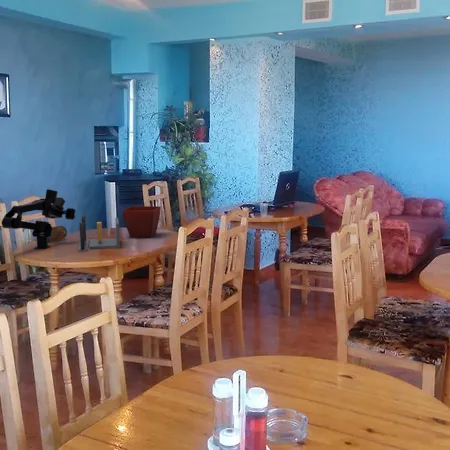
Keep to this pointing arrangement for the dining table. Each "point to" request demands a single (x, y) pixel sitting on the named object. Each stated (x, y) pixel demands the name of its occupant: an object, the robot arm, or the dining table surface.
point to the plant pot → (142, 220)
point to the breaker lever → (99, 231)
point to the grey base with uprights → (107, 240)
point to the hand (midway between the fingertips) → (68, 216)
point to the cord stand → (83, 237)
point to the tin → (57, 234)
